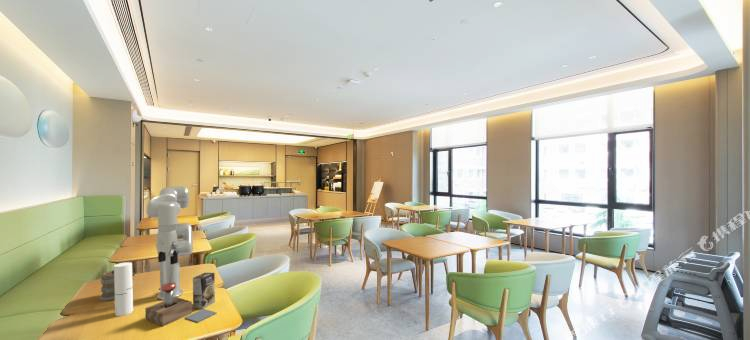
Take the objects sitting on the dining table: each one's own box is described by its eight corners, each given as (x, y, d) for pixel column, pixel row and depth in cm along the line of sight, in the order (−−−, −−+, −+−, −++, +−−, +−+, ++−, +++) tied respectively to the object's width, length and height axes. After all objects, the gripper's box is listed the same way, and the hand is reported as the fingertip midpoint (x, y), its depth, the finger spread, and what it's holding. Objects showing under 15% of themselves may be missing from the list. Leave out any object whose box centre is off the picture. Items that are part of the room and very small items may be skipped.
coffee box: (203, 309, 160) (202, 278, 160) (192, 308, 162) (192, 277, 161) (215, 301, 169) (215, 272, 169) (205, 300, 170) (204, 271, 170)
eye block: (145, 320, 149) (145, 308, 149) (174, 308, 162) (174, 296, 162) (162, 326, 143) (162, 313, 143) (191, 313, 156) (191, 301, 156)
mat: (184, 318, 151) (184, 317, 151) (203, 309, 160) (203, 308, 160) (197, 322, 146) (197, 321, 146) (216, 313, 155) (216, 312, 155)
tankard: (94, 299, 174) (94, 273, 174) (118, 290, 186) (117, 266, 186) (121, 302, 169) (121, 275, 169) (144, 293, 182) (143, 268, 181)
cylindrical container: (136, 310, 160) (135, 262, 159) (121, 316, 153) (120, 267, 153) (127, 308, 162) (126, 261, 162) (111, 314, 155) (110, 265, 155)
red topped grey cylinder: (159, 318, 151) (158, 286, 151) (171, 312, 157) (171, 281, 156) (166, 320, 149) (165, 287, 148) (179, 315, 154) (178, 283, 154)
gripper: (148, 228, 152) (149, 262, 152) (170, 230, 145) (170, 266, 145) (164, 225, 159) (165, 258, 159) (185, 227, 152) (186, 262, 152)
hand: (168, 262), depth 152 cm, fingers open, 9 cm apart
